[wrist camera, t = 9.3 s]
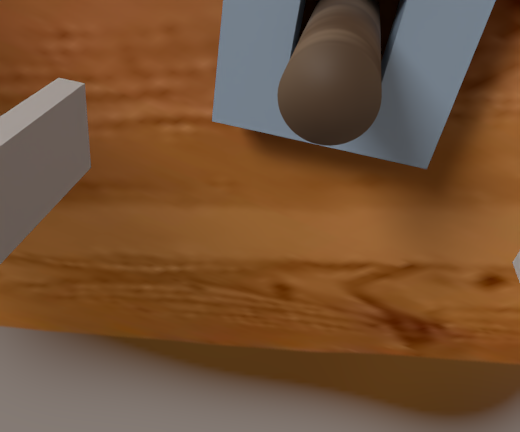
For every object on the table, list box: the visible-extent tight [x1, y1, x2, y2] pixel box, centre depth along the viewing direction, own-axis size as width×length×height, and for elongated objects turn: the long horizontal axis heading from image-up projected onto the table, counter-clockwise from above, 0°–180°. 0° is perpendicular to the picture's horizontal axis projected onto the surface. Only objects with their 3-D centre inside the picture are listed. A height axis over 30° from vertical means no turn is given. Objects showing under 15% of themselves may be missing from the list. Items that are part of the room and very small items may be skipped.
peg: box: [277, 0, 382, 146], centre depth 24 cm, size 4×4×14 cm
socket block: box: [212, 0, 496, 169], centre depth 28 cm, size 14×14×4 cm
